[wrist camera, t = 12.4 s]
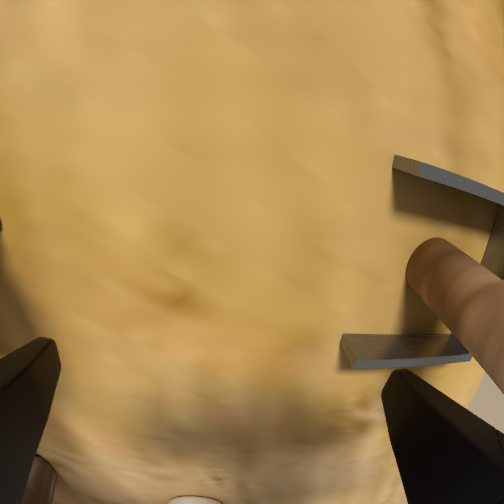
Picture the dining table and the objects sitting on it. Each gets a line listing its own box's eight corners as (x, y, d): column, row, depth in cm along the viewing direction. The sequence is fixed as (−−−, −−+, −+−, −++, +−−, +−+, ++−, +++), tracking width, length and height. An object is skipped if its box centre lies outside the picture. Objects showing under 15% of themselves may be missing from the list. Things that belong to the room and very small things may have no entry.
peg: (424, 302, 22) (533, 434, 9) (395, 272, 21) (523, 421, 8) (461, 260, 21) (588, 370, 8) (435, 225, 20) (590, 340, 7)
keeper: (340, 342, 23) (367, 400, 17) (395, 154, 18) (455, 172, 12) (456, 340, 24) (491, 382, 19) (511, 196, 19) (563, 221, 14)
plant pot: (42, 436, 26) (5, 549, 11) (87, 495, 32) (72, 582, 17) (-44, 406, 24) (-87, 489, 10) (6, 470, 31) (-18, 541, 16)
